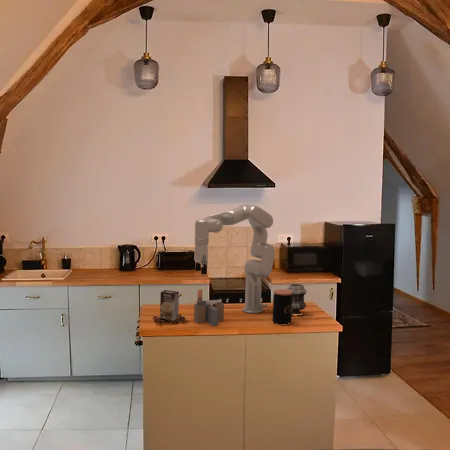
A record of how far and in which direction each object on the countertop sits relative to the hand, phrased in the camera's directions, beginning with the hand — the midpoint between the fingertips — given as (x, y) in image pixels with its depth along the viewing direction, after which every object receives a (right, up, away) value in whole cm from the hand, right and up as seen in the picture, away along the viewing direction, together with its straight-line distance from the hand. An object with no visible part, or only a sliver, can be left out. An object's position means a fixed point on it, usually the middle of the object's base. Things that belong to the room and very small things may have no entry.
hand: (201, 272), depth 283 cm
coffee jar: (+45, -29, +6) cm, 54 cm away
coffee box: (-18, -27, +5) cm, 33 cm away
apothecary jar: (+56, -28, +25) cm, 67 cm away
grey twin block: (+4, -28, +5) cm, 28 cm away
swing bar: (+5, -18, +4) cm, 19 cm away
